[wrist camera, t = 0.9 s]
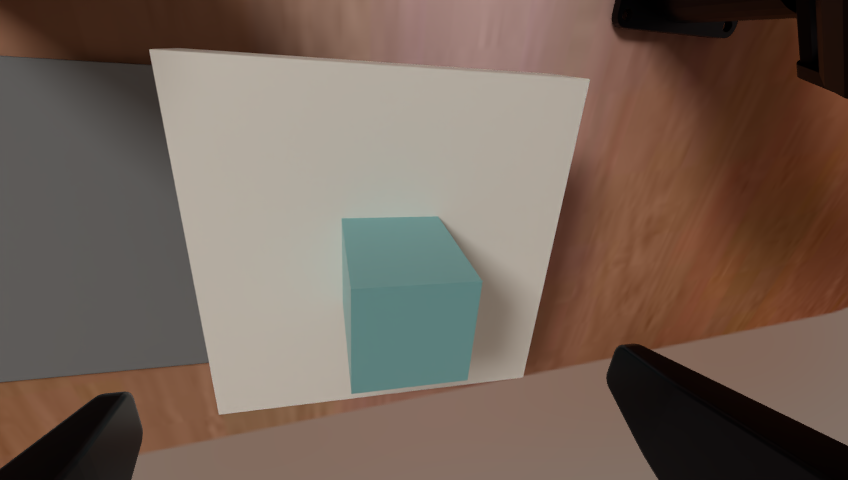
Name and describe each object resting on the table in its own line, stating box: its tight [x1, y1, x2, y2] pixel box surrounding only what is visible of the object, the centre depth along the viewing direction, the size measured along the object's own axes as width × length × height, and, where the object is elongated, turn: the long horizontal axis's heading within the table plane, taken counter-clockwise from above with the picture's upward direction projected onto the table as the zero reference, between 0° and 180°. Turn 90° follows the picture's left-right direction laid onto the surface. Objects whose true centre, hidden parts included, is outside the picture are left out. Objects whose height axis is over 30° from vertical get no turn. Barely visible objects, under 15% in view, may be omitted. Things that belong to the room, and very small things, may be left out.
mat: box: [0, 56, 209, 382], centre depth 17 cm, size 14×14×1 cm
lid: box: [149, 48, 590, 414], centre depth 12 cm, size 12×12×6 cm
